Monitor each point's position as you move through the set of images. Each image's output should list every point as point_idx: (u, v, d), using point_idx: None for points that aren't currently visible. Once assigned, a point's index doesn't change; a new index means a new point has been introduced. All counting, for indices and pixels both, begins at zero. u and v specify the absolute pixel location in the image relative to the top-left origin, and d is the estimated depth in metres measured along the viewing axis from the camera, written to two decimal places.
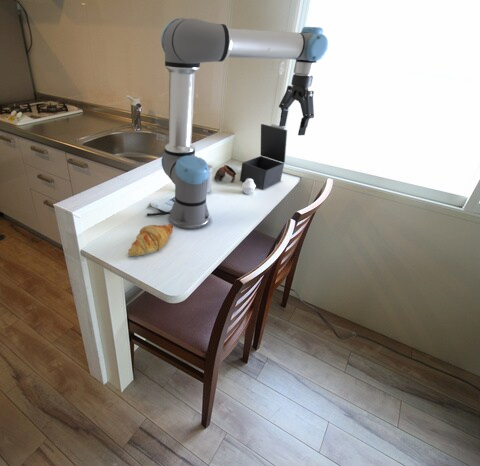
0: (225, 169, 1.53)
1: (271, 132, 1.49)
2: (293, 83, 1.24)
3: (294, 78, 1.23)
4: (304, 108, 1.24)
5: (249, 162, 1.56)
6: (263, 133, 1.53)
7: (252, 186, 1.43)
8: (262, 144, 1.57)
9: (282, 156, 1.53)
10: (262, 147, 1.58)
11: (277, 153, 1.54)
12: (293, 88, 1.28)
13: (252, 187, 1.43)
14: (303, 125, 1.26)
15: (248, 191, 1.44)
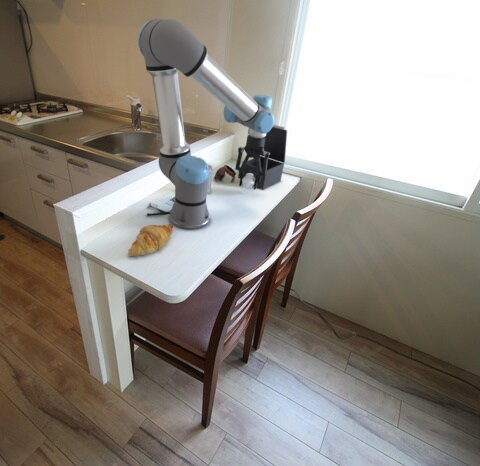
0: (225, 169, 1.53)
1: (271, 132, 1.49)
2: (253, 145, 1.32)
3: (253, 141, 1.31)
4: (259, 167, 1.38)
5: (249, 162, 1.56)
6: None
7: (252, 181, 1.41)
8: None
9: (282, 156, 1.53)
10: None
11: (277, 153, 1.54)
12: (247, 147, 1.36)
13: (252, 182, 1.41)
14: (258, 181, 1.41)
15: (248, 186, 1.43)
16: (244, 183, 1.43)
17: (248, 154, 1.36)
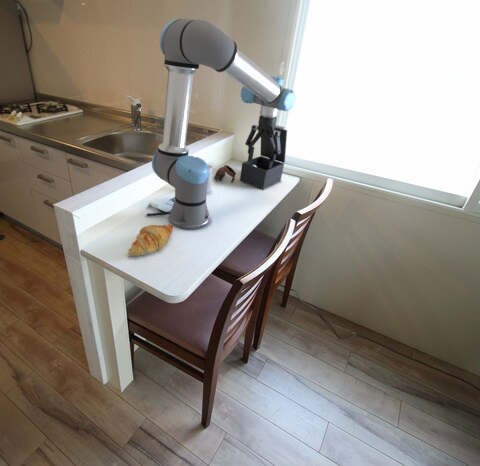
0: (225, 169, 1.53)
1: None
2: (262, 124, 1.40)
3: (263, 120, 1.39)
4: (272, 145, 1.43)
5: (249, 162, 1.56)
6: None
7: None
8: (262, 144, 1.57)
9: (282, 156, 1.53)
10: (262, 147, 1.58)
11: None
12: (259, 127, 1.44)
13: None
14: (272, 160, 1.46)
15: None
16: None
17: (259, 133, 1.44)
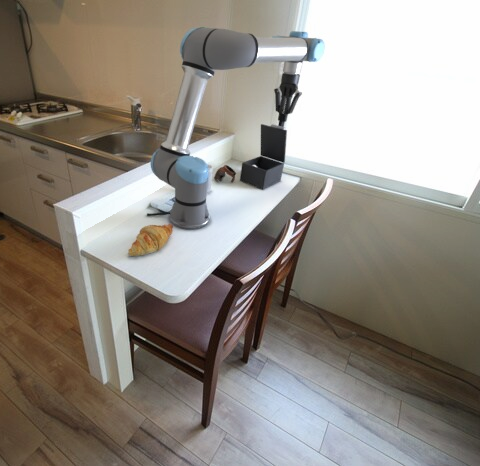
0: (225, 169, 1.53)
1: (271, 132, 1.49)
2: (285, 81, 1.39)
3: (286, 77, 1.38)
4: (287, 105, 1.45)
5: (249, 162, 1.56)
6: (263, 133, 1.53)
7: None
8: (262, 144, 1.57)
9: (281, 156, 1.53)
10: (262, 147, 1.58)
11: (277, 153, 1.54)
12: (281, 85, 1.43)
13: None
14: (283, 120, 1.49)
15: None
16: None
17: (282, 92, 1.44)
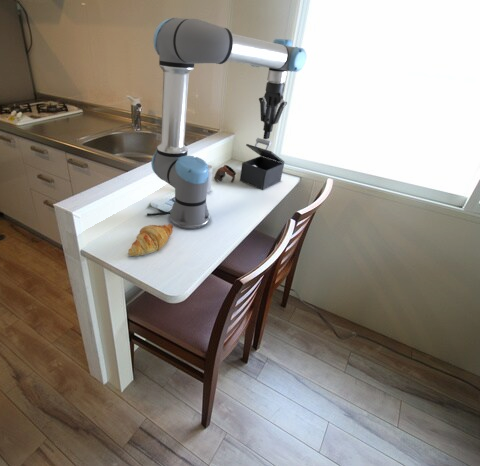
0: (225, 169, 1.53)
1: (258, 150, 1.48)
2: (269, 90, 1.33)
3: (270, 86, 1.32)
4: (273, 115, 1.40)
5: (249, 162, 1.56)
6: (252, 149, 1.52)
7: None
8: (257, 152, 1.57)
9: (279, 160, 1.53)
10: (258, 153, 1.58)
11: (274, 158, 1.54)
12: (266, 94, 1.38)
13: None
14: (269, 130, 1.43)
15: None
16: None
17: (266, 101, 1.38)
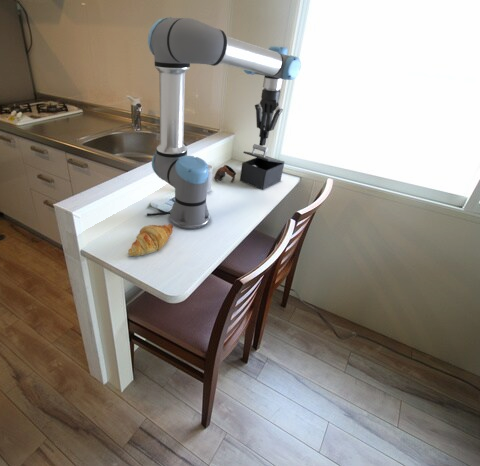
0: (225, 169, 1.53)
1: None
2: (265, 97, 1.33)
3: (266, 93, 1.32)
4: (268, 122, 1.39)
5: (249, 162, 1.56)
6: None
7: None
8: None
9: None
10: None
11: None
12: (261, 101, 1.38)
13: None
14: (265, 137, 1.43)
15: None
16: None
17: (262, 108, 1.38)
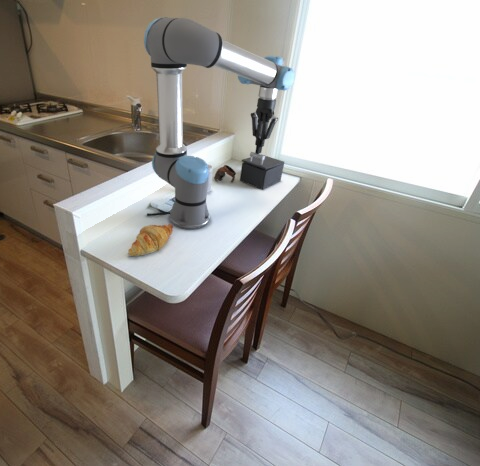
0: (225, 169, 1.53)
1: None
2: (261, 106, 1.34)
3: (261, 102, 1.33)
4: (264, 131, 1.40)
5: None
6: None
7: None
8: None
9: None
10: None
11: None
12: (257, 110, 1.38)
13: None
14: (261, 145, 1.44)
15: None
16: None
17: (258, 117, 1.38)
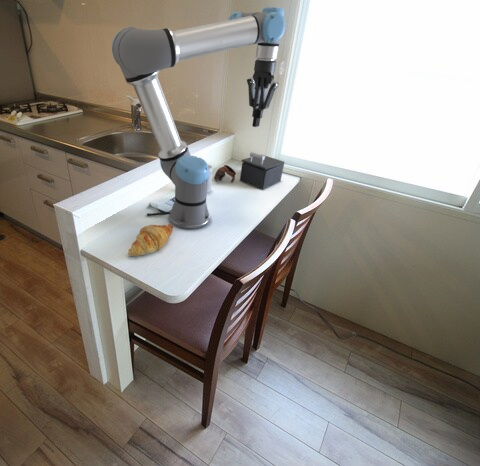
0: (225, 169, 1.53)
1: None
2: (258, 69, 1.15)
3: (259, 64, 1.14)
4: (262, 99, 1.21)
5: None
6: None
7: None
8: None
9: None
10: None
11: None
12: (254, 74, 1.20)
13: None
14: (258, 116, 1.25)
15: None
16: None
17: (255, 83, 1.20)
